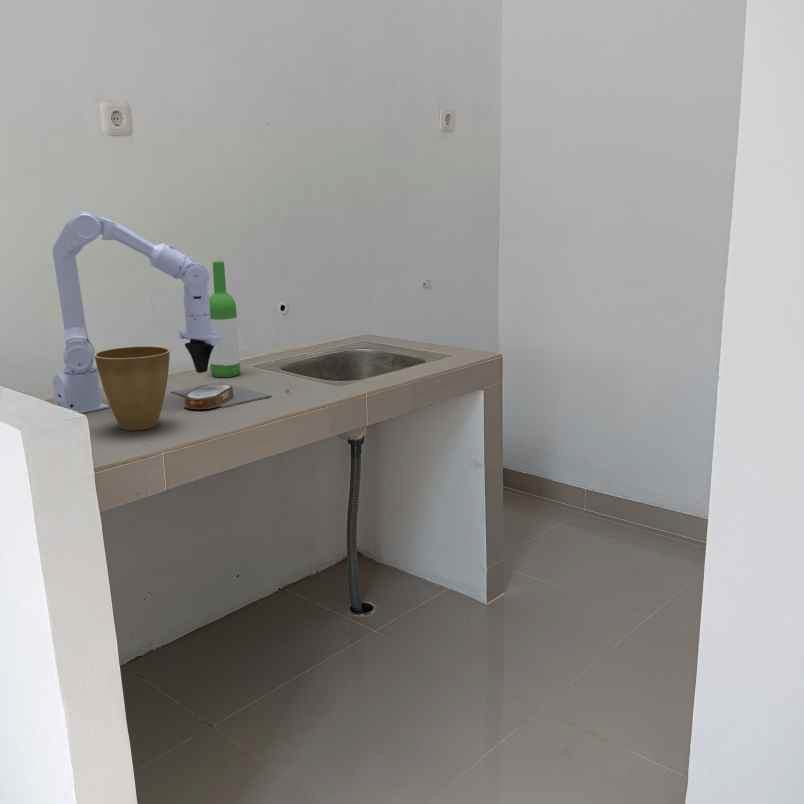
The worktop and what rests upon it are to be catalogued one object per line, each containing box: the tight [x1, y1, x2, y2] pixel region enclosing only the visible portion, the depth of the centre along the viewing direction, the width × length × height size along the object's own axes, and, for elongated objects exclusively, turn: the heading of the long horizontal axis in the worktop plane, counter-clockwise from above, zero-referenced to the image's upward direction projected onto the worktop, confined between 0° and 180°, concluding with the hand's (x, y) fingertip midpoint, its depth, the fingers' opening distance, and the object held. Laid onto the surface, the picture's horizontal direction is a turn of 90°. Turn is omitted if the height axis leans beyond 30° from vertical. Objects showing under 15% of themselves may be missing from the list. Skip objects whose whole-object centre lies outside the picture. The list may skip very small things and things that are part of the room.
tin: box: [183, 383, 234, 410], centre depth 200 cm, size 15×3×8 cm
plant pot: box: [94, 345, 171, 432], centre depth 180 cm, size 15×15×16 cm
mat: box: [170, 381, 273, 409], centre depth 208 cm, size 14×22×1 cm, turn 45°
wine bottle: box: [209, 260, 241, 378], centre depth 226 cm, size 8×8×30 cm
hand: (201, 371), depth 203 cm, fingers closed
